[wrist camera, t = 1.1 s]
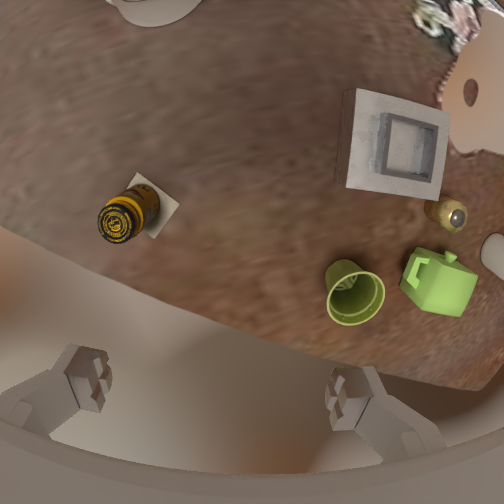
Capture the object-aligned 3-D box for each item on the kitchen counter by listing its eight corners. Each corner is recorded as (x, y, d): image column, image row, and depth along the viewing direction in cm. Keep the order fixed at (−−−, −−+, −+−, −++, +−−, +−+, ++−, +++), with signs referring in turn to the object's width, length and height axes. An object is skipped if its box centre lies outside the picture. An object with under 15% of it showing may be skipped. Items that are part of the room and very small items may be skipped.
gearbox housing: (343, 91, 41) (363, 86, 34) (430, 113, 42) (459, 114, 34) (334, 179, 47) (351, 191, 39) (419, 192, 48) (446, 205, 40)
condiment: (137, 172, 46) (106, 187, 35) (179, 203, 48) (161, 228, 37) (114, 208, 48) (81, 233, 37) (154, 238, 50) (132, 270, 39)
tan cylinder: (426, 190, 48) (450, 201, 41) (447, 194, 48) (472, 206, 41) (421, 218, 50) (443, 232, 43) (442, 220, 50) (465, 235, 43)
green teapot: (468, 255, 53) (496, 273, 44) (450, 297, 57) (474, 320, 48) (405, 233, 51) (434, 251, 42) (385, 283, 54) (409, 308, 45)
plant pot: (318, 248, 51) (331, 272, 43) (370, 249, 52) (390, 272, 44) (312, 297, 55) (322, 326, 47) (361, 297, 55) (377, 324, 47)
